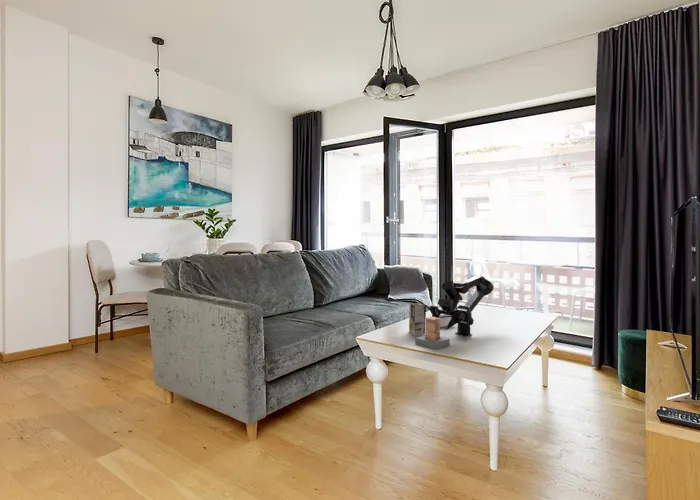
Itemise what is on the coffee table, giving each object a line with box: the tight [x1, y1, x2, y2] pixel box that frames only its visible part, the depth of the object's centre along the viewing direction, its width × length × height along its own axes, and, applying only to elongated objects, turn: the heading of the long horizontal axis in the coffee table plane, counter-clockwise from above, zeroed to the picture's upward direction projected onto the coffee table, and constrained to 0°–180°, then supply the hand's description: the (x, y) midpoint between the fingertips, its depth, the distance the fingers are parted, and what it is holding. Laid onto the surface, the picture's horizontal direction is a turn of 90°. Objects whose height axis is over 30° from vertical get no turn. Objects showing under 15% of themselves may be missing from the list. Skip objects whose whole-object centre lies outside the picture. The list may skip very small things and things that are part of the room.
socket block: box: [414, 335, 451, 350], centre depth 196 cm, size 12×12×3 cm
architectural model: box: [439, 314, 451, 328], centre depth 234 cm, size 20×25×10 cm
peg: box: [425, 316, 441, 341], centre depth 196 cm, size 5×5×13 cm
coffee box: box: [408, 302, 427, 337], centre depth 215 cm, size 9×6×16 cm
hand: (439, 326), depth 200 cm, fingers open, 9 cm apart
